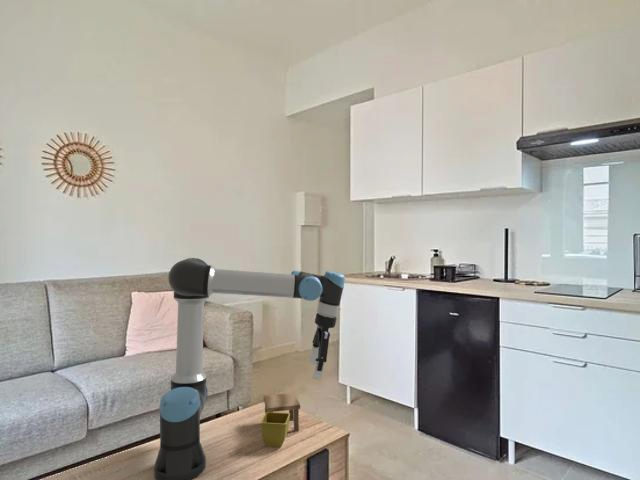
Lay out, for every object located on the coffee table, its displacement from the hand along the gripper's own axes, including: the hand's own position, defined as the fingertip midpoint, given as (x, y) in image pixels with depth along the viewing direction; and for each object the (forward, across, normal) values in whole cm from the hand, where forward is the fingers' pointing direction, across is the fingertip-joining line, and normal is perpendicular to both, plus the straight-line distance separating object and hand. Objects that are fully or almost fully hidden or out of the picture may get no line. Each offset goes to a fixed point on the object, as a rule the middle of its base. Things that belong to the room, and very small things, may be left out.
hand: (314, 371), depth 148 cm
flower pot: (+26, -5, +9) cm, 28 cm away
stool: (+26, +7, +7) cm, 27 cm away
